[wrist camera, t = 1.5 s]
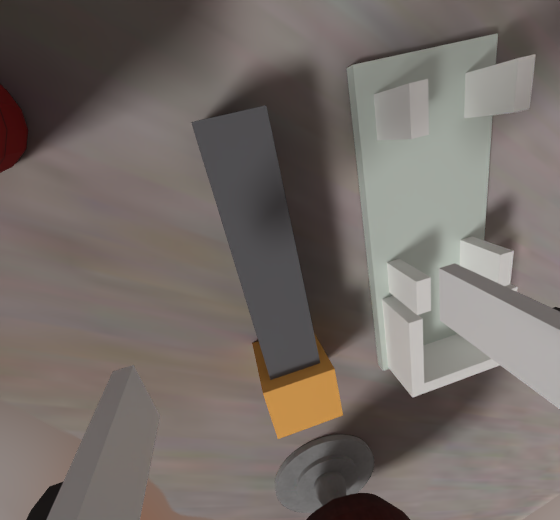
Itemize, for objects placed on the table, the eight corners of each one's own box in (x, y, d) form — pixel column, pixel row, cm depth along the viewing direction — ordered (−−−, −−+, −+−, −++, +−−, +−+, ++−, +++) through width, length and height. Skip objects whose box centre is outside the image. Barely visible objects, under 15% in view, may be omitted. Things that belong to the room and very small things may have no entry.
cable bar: (184, 130, 20) (174, 124, 14) (264, 112, 20) (284, 99, 15) (265, 383, 29) (278, 439, 23) (318, 365, 29) (343, 415, 24)
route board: (346, 68, 20) (385, 45, 16) (485, 38, 22) (559, 9, 17) (378, 364, 31) (407, 402, 26) (470, 332, 32) (513, 362, 28)
